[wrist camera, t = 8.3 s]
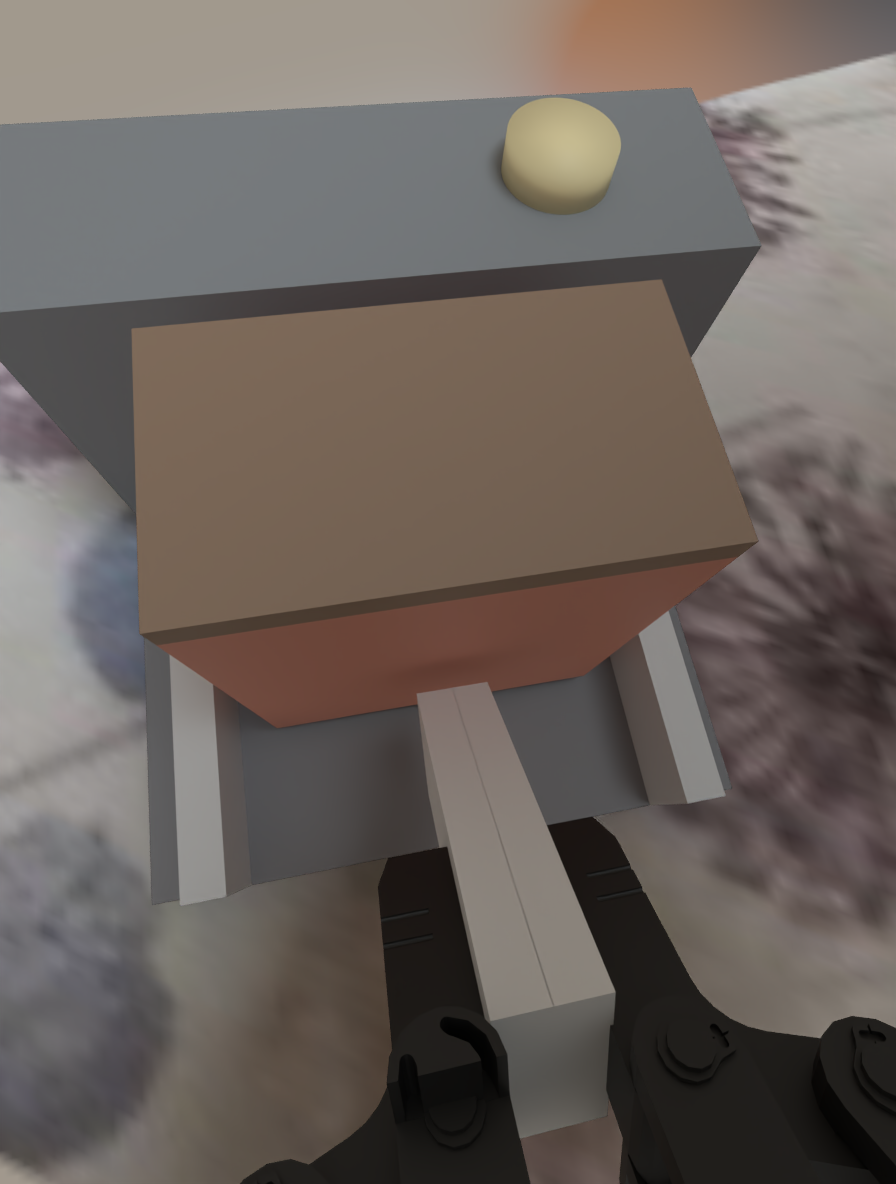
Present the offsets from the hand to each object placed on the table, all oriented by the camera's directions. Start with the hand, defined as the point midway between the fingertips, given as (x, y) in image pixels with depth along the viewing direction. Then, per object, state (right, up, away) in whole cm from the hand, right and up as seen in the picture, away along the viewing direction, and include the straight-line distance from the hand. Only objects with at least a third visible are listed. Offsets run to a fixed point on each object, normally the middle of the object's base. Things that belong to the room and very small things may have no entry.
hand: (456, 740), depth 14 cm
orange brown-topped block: (-1, +2, +5) cm, 6 cm away
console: (-1, +3, +8) cm, 8 cm away
